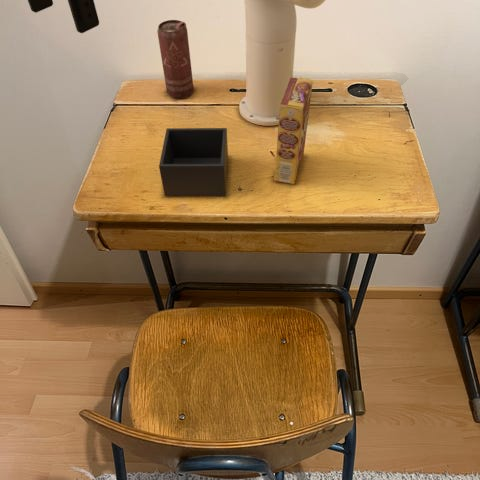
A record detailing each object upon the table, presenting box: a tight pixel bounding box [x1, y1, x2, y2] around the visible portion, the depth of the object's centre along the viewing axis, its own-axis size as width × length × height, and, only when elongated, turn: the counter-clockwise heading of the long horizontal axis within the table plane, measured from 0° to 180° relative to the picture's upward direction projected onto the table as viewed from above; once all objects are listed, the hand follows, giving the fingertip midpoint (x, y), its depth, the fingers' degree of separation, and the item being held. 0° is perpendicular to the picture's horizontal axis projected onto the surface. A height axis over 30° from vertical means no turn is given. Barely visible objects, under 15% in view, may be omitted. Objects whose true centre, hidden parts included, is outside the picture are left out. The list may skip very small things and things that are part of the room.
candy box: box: [273, 77, 314, 185], centre depth 82 cm, size 9×4×15 cm, turn 165°
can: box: [156, 19, 195, 100], centre depth 100 cm, size 6×6×14 cm
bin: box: [158, 127, 229, 197], centre depth 85 cm, size 11×11×7 cm
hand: (65, 18), depth 61 cm, fingers open, 9 cm apart
